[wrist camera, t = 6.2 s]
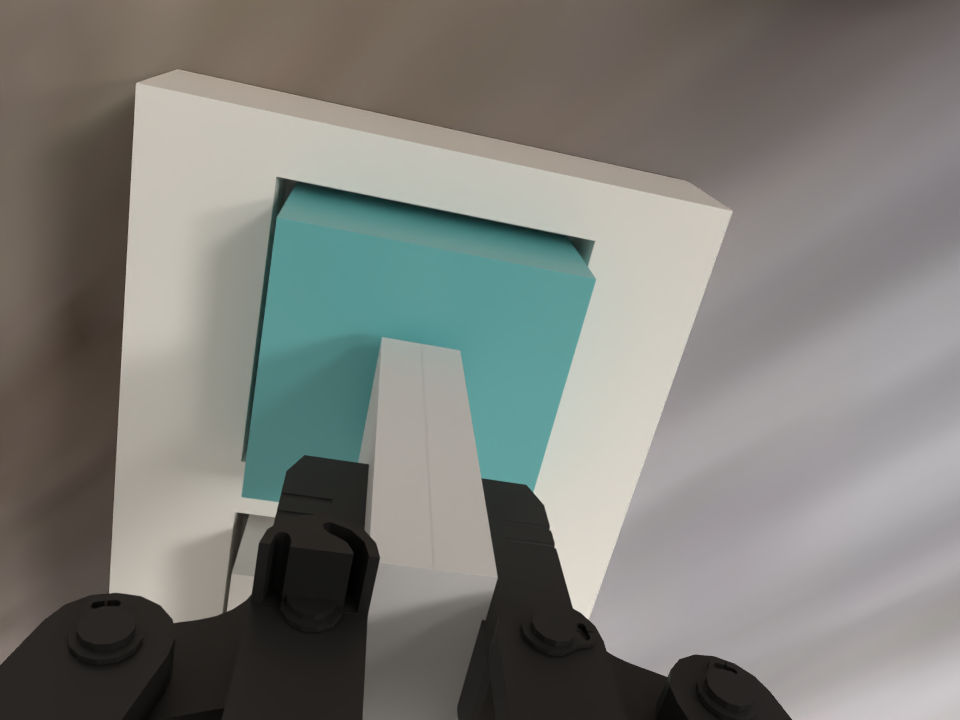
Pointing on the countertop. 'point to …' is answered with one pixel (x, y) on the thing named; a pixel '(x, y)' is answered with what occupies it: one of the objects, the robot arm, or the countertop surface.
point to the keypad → (243, 291)
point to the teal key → (409, 327)
